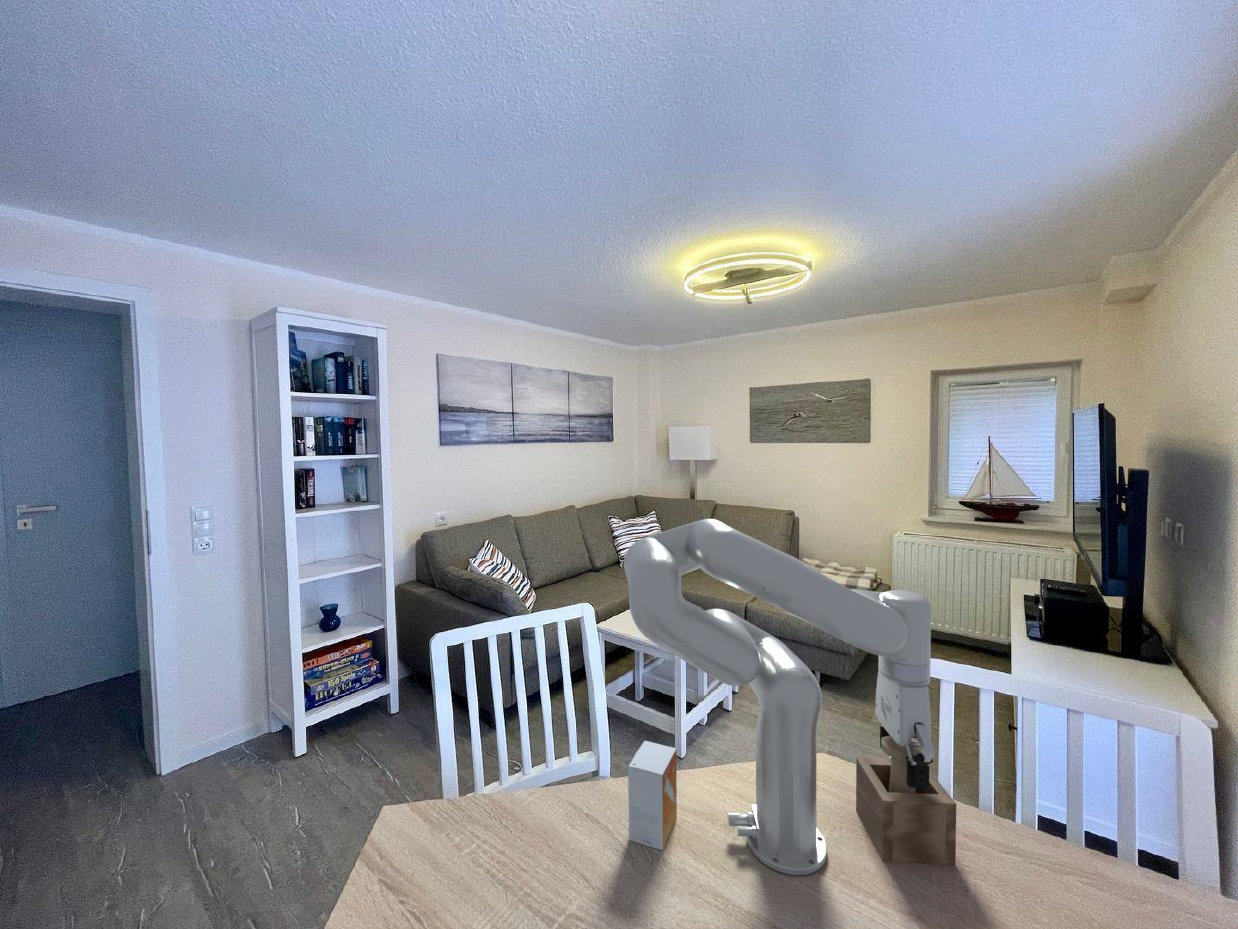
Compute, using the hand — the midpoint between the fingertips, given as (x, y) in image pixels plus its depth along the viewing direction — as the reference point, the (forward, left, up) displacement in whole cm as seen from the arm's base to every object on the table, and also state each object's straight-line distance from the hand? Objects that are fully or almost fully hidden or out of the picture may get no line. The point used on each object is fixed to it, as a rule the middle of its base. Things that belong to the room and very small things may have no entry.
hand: (902, 766), depth 84 cm
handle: (0, 0, -11) cm, 11 cm away
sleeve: (0, 0, -12) cm, 12 cm away
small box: (-42, -1, -12) cm, 44 cm away
